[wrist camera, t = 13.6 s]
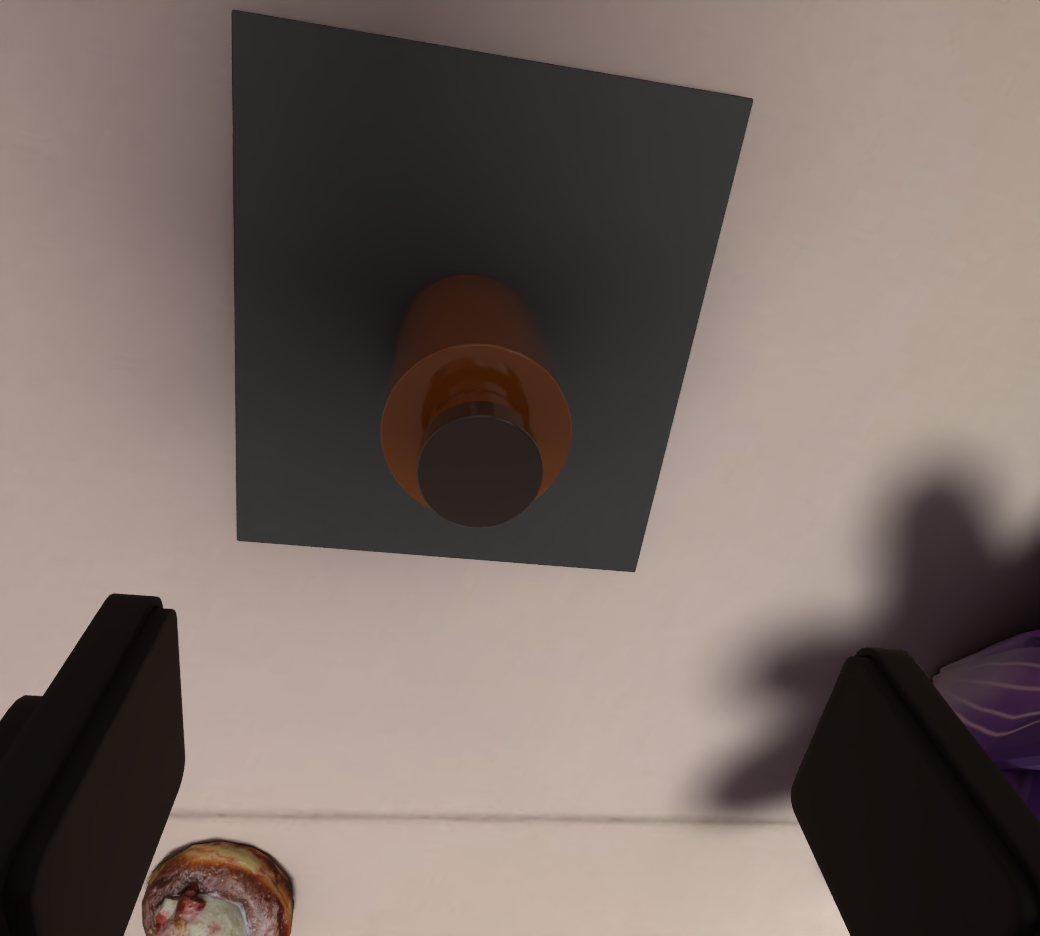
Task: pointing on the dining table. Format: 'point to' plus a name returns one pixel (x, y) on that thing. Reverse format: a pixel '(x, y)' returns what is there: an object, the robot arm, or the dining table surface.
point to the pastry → (218, 894)
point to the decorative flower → (1002, 707)
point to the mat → (460, 272)
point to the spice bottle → (473, 403)
